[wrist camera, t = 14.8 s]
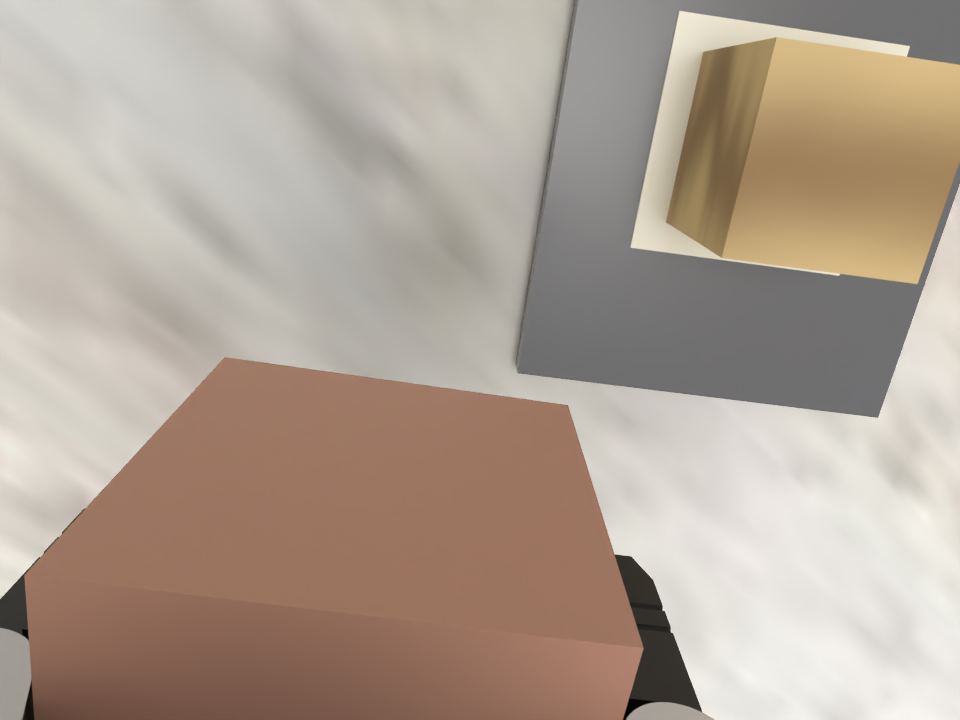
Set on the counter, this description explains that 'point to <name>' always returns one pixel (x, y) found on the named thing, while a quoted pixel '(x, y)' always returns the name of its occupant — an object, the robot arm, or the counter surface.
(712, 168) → the ochre block
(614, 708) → the terracotta block
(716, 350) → the grey flat slab
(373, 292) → the counter surface
